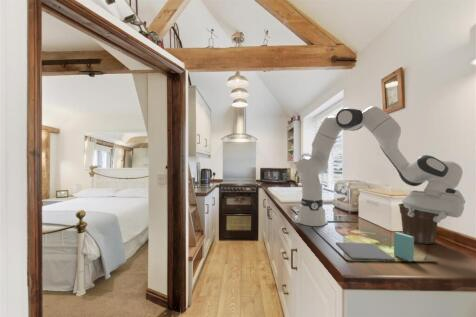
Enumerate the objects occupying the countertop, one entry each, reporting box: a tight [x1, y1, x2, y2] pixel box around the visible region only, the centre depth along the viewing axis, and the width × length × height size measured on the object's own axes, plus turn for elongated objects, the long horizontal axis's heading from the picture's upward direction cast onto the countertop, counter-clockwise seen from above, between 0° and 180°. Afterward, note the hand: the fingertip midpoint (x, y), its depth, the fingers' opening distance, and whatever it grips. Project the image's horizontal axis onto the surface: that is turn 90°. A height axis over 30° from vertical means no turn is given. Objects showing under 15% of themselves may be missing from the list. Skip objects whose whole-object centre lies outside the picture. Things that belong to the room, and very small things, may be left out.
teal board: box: [393, 231, 415, 262], centre depth 91 cm, size 2×6×9 cm, turn 22°
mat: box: [335, 241, 396, 261], centre depth 96 cm, size 16×16×1 cm
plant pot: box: [398, 203, 440, 245], centre depth 112 cm, size 16×16×16 cm
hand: (422, 218), depth 95 cm, fingers open, 8 cm apart
